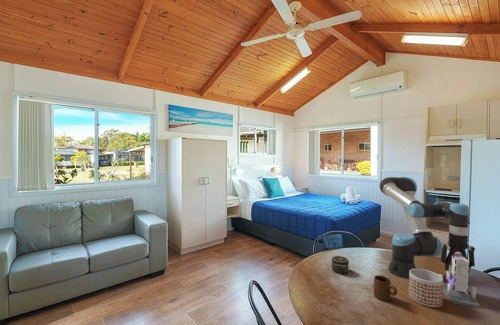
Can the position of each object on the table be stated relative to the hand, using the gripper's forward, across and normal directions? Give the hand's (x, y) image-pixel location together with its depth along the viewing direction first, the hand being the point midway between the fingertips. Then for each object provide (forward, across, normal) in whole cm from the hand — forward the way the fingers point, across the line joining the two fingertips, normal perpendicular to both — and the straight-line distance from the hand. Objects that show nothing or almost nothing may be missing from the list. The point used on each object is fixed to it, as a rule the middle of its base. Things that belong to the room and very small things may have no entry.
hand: (456, 277), depth 126 cm
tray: (+9, 0, 0) cm, 9 cm away
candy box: (+5, 0, 0) cm, 5 cm away
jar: (+9, -56, +9) cm, 58 cm away
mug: (+9, -36, -16) cm, 41 cm away
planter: (+9, -18, -10) cm, 22 cm away
